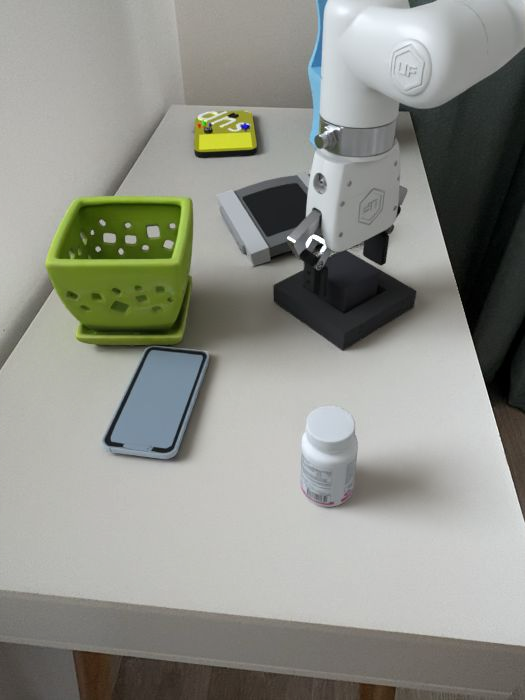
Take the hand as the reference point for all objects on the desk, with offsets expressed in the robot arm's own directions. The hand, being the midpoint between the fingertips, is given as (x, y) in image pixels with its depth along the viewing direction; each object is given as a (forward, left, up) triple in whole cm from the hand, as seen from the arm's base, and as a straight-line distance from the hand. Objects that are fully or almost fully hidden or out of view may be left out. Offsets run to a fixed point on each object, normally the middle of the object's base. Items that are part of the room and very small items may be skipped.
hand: (345, 275), depth 73 cm
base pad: (0, 0, -4) cm, 4 cm away
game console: (-6, -53, -4) cm, 53 cm away
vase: (-23, -40, -4) cm, 46 cm away
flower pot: (+23, -8, -4) cm, 25 cm away
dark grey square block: (0, 0, -3) cm, 3 cm away
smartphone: (+25, +6, -4) cm, 26 cm away
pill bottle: (+15, +22, -4) cm, 27 cm away
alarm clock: (-2, -20, -4) cm, 21 cm away
